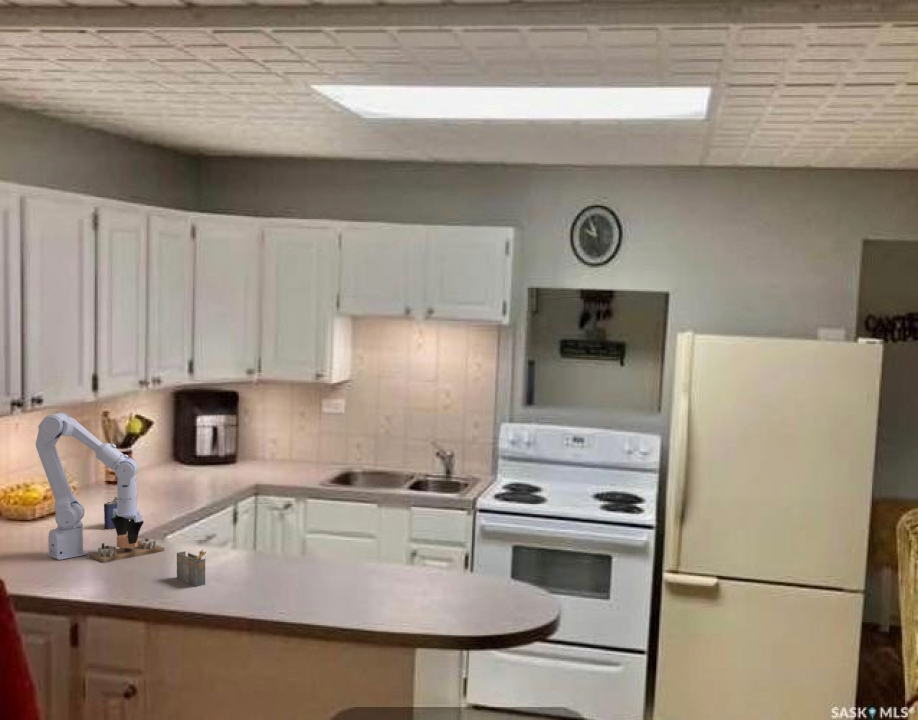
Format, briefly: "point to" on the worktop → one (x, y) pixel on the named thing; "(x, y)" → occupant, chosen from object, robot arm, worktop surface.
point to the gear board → (126, 551)
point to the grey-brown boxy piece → (191, 568)
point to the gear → (125, 542)
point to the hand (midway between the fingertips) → (127, 541)
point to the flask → (109, 513)
